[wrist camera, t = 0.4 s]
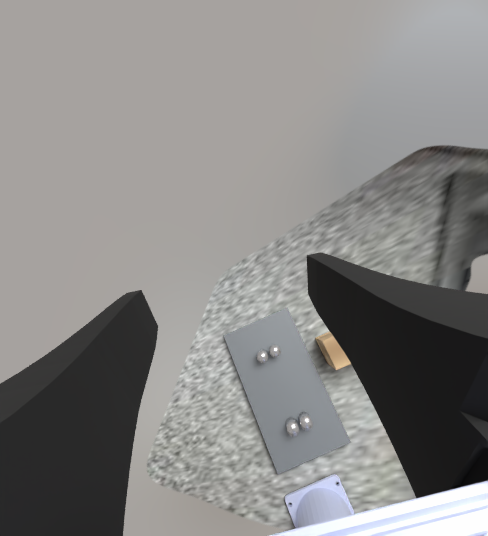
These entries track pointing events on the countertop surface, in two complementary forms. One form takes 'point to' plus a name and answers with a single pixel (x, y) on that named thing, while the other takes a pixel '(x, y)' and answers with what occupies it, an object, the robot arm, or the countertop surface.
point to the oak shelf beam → (332, 351)
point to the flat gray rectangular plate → (285, 391)
